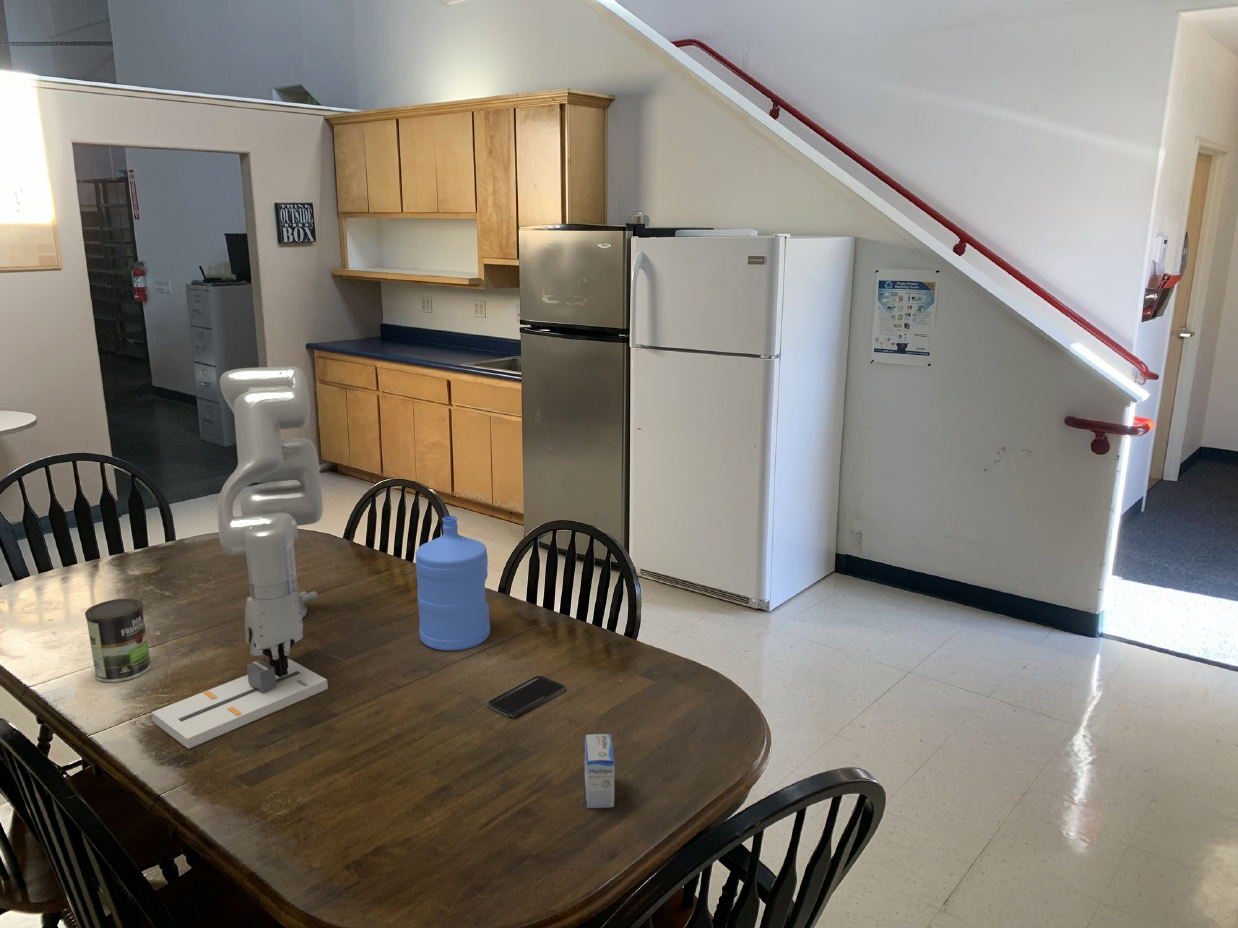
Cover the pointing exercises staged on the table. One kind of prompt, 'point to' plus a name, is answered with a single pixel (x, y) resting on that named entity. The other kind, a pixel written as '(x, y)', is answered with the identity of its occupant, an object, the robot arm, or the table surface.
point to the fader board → (234, 705)
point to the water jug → (452, 590)
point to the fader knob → (261, 675)
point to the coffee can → (118, 640)
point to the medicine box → (599, 771)
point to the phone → (525, 697)
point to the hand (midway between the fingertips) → (279, 673)
